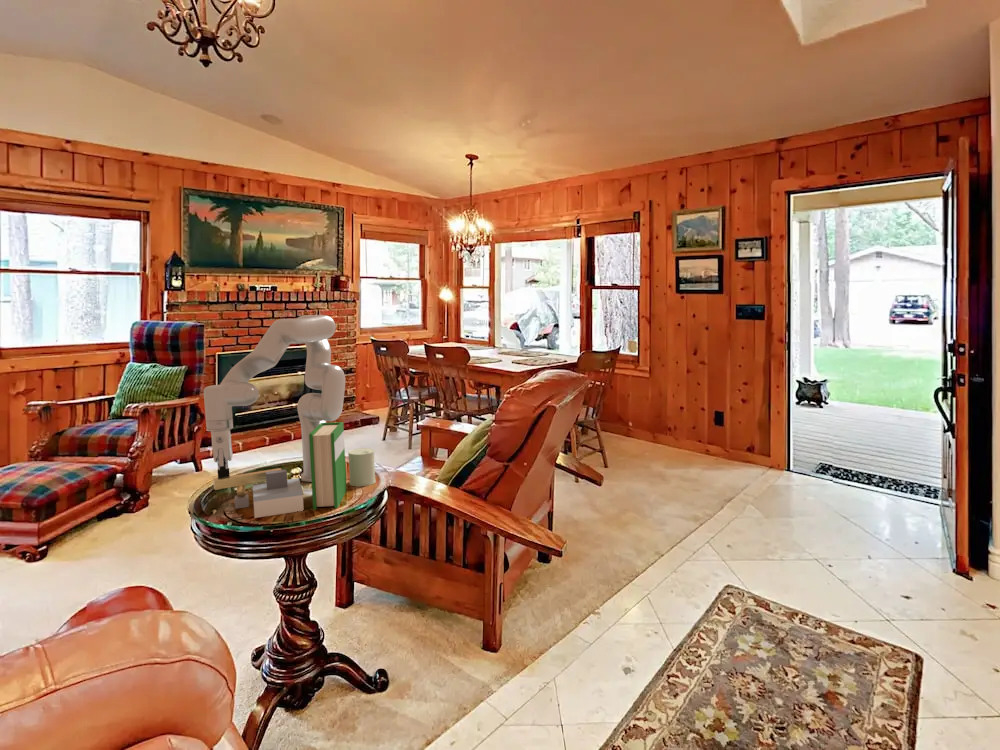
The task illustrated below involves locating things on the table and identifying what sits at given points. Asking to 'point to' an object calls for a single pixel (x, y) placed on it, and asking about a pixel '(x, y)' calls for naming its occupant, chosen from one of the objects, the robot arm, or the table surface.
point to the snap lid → (276, 487)
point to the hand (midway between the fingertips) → (224, 481)
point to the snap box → (272, 505)
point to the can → (361, 467)
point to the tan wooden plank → (241, 481)
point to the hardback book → (327, 464)
